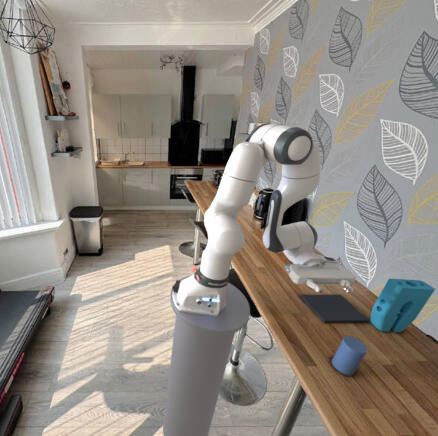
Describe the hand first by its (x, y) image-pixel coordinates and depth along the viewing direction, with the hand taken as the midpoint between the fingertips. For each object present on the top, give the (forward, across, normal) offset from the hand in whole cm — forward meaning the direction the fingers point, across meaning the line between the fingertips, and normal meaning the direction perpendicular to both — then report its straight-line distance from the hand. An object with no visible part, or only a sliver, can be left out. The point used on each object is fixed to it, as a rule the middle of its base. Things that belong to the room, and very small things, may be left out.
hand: (335, 291), depth 76 cm
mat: (-13, +15, +21) cm, 29 cm away
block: (-5, +30, +22) cm, 37 cm away
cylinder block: (+12, +1, +20) cm, 23 cm away
